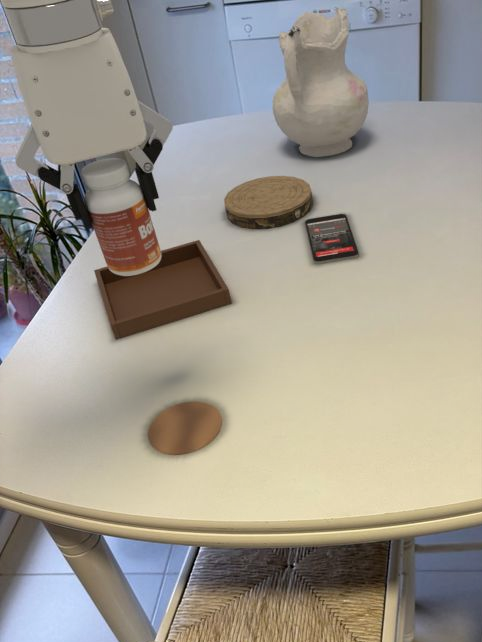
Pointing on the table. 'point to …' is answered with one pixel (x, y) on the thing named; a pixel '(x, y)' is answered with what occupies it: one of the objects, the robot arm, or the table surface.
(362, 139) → the table surface
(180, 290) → the tray
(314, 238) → the smartphone
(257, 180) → the wood log slice
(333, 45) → the ceramic pitcher
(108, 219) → the pill bottle
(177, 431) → the coaster
